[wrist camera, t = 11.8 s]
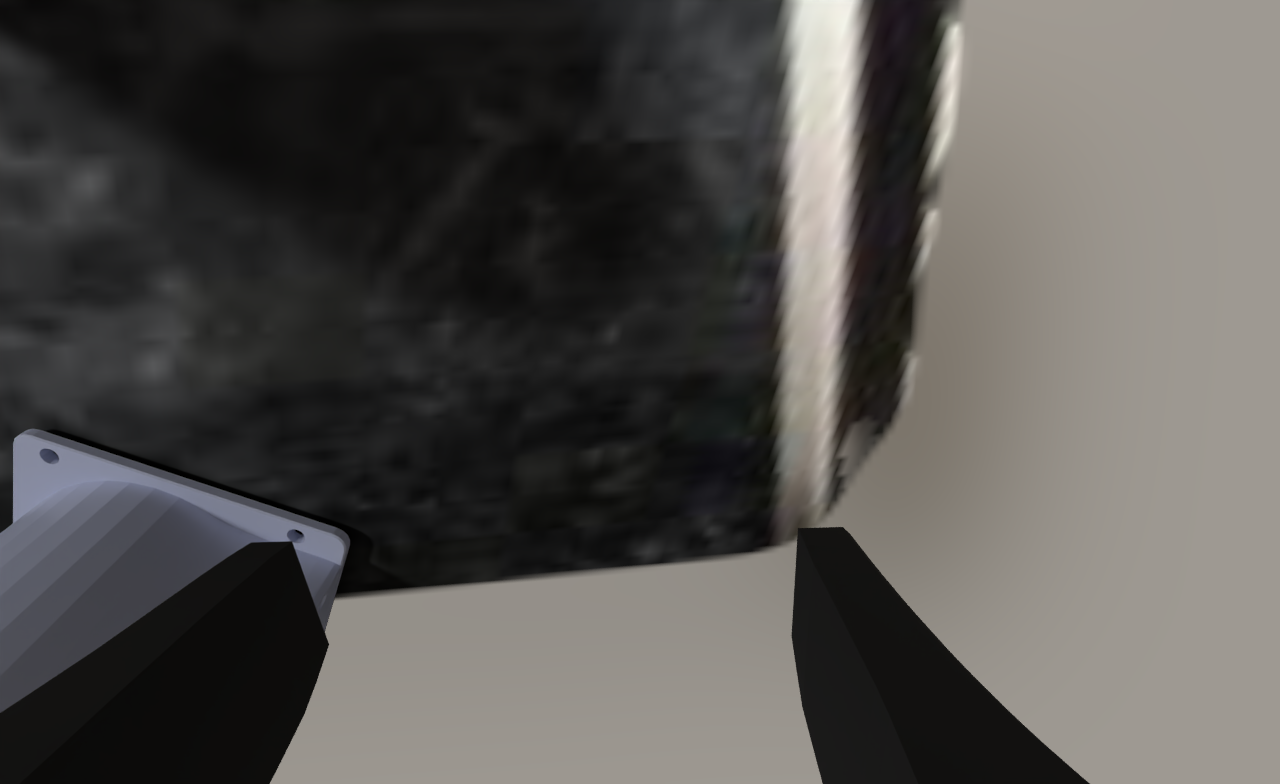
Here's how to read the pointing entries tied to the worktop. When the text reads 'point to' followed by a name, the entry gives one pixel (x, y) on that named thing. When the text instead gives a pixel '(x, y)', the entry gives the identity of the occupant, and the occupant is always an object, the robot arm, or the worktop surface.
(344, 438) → the worktop surface
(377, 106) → the worktop surface
